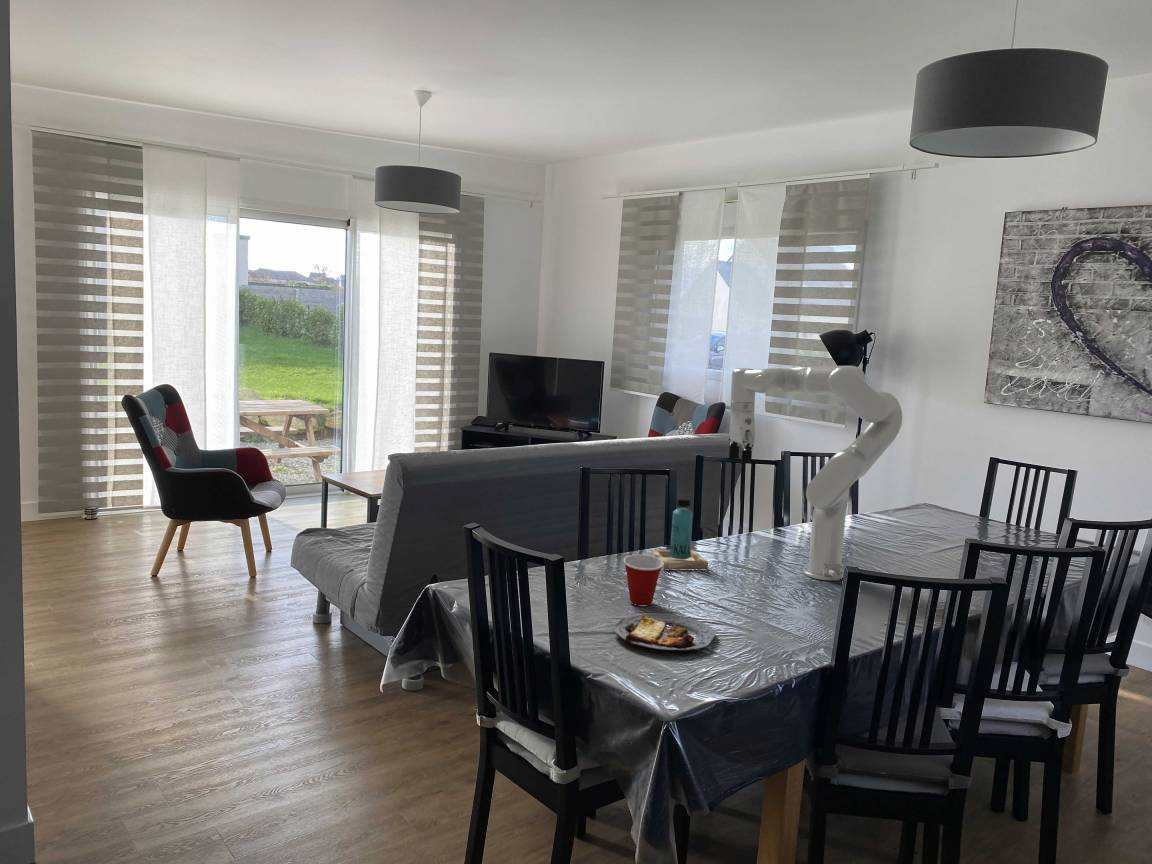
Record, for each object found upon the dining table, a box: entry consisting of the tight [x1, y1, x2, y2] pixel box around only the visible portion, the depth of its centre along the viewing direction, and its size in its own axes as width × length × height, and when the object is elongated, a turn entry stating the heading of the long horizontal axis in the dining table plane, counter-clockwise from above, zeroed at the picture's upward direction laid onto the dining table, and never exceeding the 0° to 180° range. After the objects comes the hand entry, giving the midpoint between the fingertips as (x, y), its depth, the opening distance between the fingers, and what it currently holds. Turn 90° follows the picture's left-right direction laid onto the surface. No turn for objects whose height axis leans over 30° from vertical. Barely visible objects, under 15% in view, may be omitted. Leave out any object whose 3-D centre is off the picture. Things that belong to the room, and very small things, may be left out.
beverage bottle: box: [669, 497, 694, 559], centre depth 277 cm, size 6×7×20 cm
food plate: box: [613, 612, 718, 652], centre depth 214 cm, size 25×23×4 cm
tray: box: [650, 549, 709, 570], centre depth 278 cm, size 14×14×2 cm
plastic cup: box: [623, 554, 664, 606], centre depth 238 cm, size 11×11×12 cm
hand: (739, 460), depth 284 cm, fingers open, 9 cm apart
